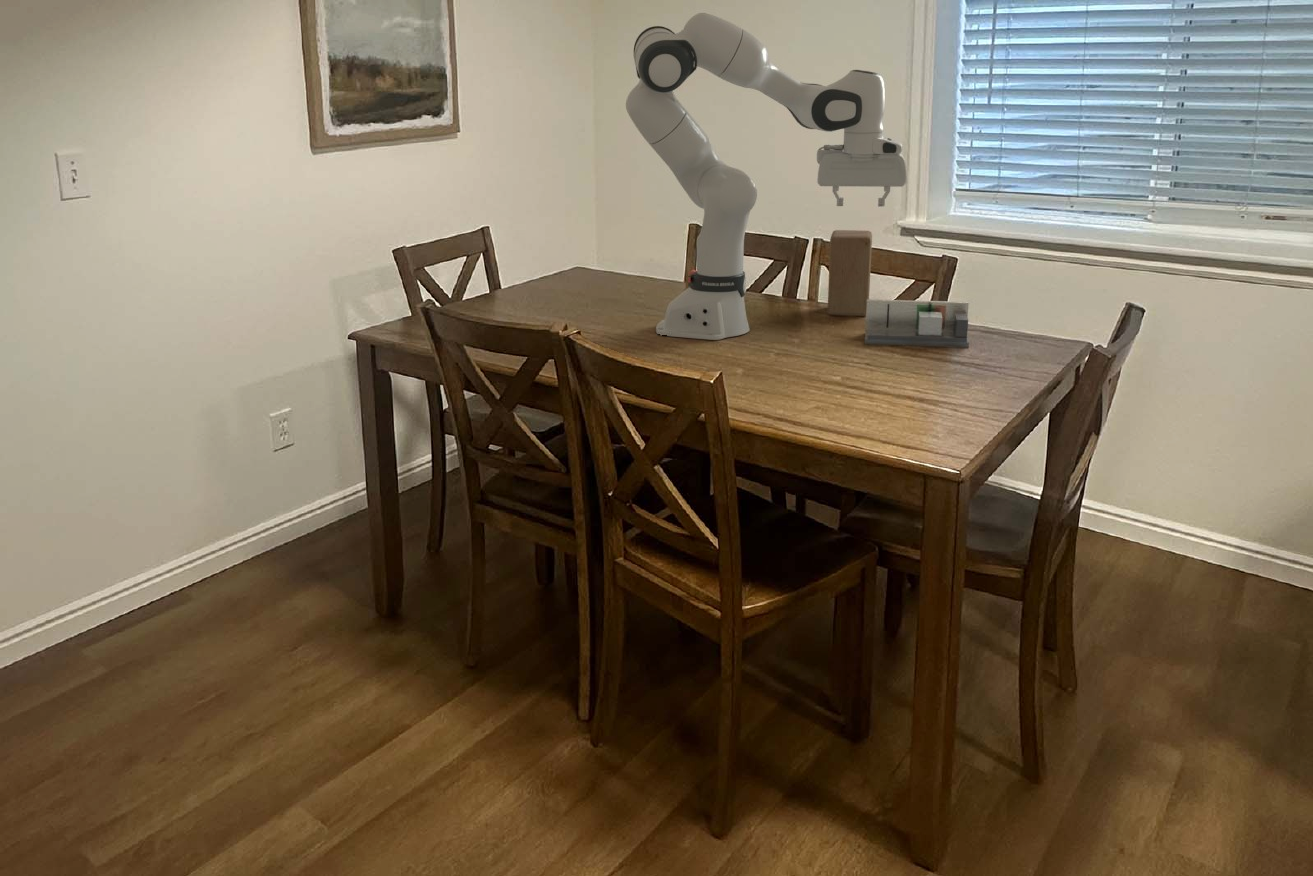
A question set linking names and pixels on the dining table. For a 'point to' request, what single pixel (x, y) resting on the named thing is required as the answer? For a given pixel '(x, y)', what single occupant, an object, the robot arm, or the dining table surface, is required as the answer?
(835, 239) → the wooden block
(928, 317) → the gauge carriage
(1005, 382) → the dining table surface
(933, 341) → the bench
